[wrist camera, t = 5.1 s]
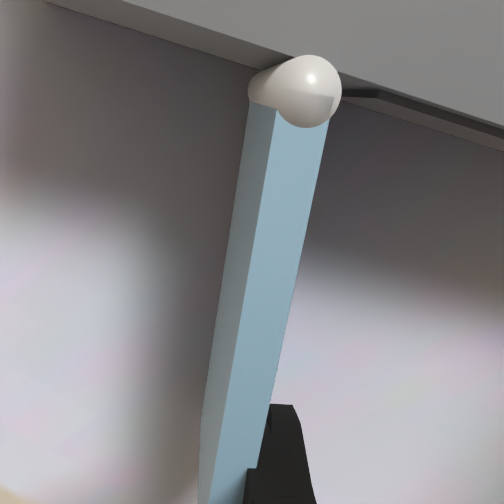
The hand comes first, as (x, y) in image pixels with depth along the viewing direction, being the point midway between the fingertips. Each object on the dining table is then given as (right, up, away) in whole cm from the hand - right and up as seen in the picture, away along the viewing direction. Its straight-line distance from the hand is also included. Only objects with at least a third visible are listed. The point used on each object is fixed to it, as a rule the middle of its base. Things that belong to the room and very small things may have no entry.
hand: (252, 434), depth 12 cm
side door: (0, +4, +1) cm, 4 cm away
